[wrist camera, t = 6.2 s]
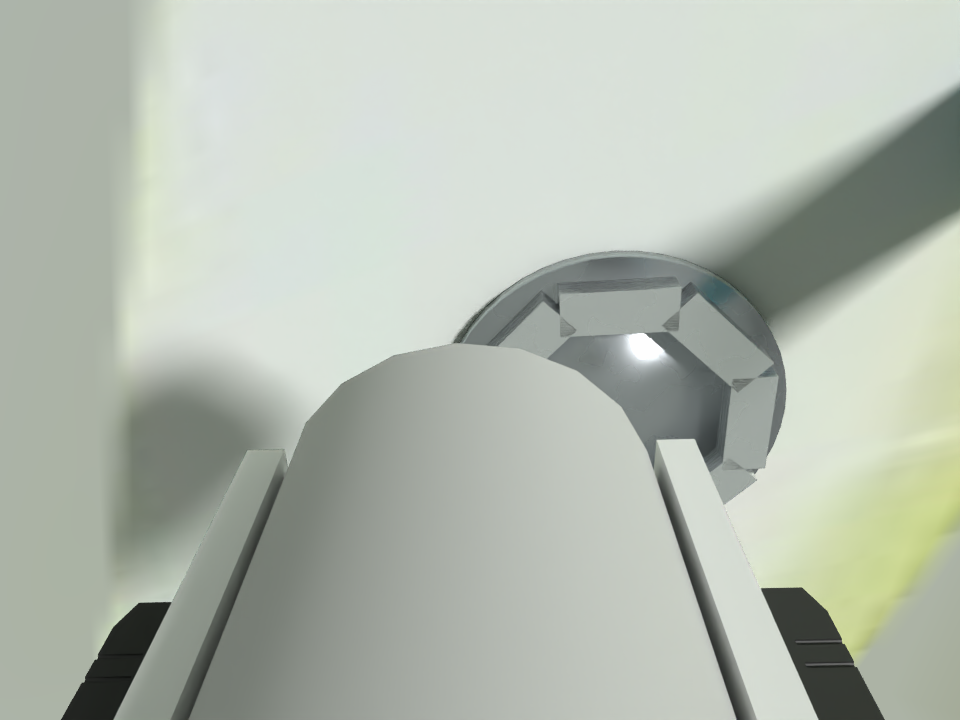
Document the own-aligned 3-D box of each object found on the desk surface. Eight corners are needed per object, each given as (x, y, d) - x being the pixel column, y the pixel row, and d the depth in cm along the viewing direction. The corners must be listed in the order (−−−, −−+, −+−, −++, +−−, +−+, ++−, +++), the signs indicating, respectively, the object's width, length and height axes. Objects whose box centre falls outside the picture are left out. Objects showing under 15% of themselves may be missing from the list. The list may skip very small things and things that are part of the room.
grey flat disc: (428, 261, 32) (424, 279, 30) (803, 239, 31) (821, 257, 29) (458, 539, 40) (456, 566, 38) (759, 527, 39) (771, 554, 37)
